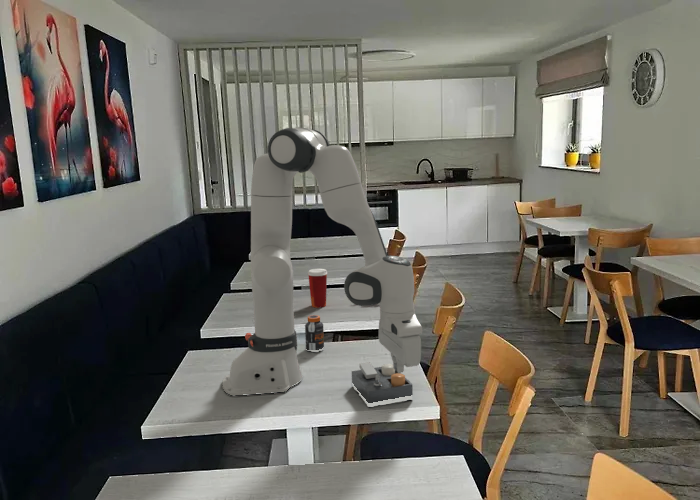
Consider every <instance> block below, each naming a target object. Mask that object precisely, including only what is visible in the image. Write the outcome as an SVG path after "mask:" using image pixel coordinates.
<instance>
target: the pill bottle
mask: <svg viewBox="0 0 700 500" xmlns="http://www.w3.org/2000/svg"><path fill="white" fill-rule="evenodd" d="M304 329H305V330H304V334H305V350H306V349H307V350H319V349H322V348H323V347H324V348H325V335H324V324H323V322H321V316H320V315H315V314H312V315H309V316H307V322H306V323H305V324H304ZM307 350H306V351H307Z"/></svg>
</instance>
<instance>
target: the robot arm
mask: <svg viewBox="0 0 700 500" xmlns="http://www.w3.org/2000/svg"><path fill="white" fill-rule="evenodd" d="M304 172H305V173H306V172H309V173H311V174H312V175H313V176H314V178H315V179H316V183H317V187H318V191H319V194H320V195H319V196H320V199H321V203H322V207H323V208H324V211H325V213H326V215H327V216H328V218H330V219H331V220H332V221H334V222H336V223H337V224H341V225H344V226H346V227H348V228H349V229H350V230H352V231H353V232H354V233H353V234H355V236H356V238H357V241H358V244H359V247H360V248H361V253H362V255H363V258H364V262H365V263H364V266H362V267H359V268H357V269H355V270H353V271H352V272H350V273H349V274H348V275H347V276H346V277H345V280H344V284H343V288H344V293H345V295H346V298H347V299H348V300H349V301H350V303H352V304H353V305H355V306H359V307H363V306H364V307H367V306H374V305H377V306H379V321H378V341H379V344H380V345H381V346H383V347H384V348H385V349H386V350H387V351H388V352H389V353H390V357H391V361H392V363H393V364H392V365H393V368H394V369H395V370H396V371H397V372H398V373H401V374H402V373H404V372H405V368H404V367H406V368H411V367H417V366H419V365H420V364H421V360H422V359H421V358H422V339H421V336H420V335H422V334H423V326H422V325H421V323H420V321H419V320H418V317H417V314H416V313H415V312H416V311H415V309H416V308H415V307H416V306H415V304H414V294H415V278H414V272H413V271H414V270H413V265H412V263H411V262H410V261H409V260H408V259H407V258H405V257H403V256H402V257H401V256H398V255H389V254H388V252H387V249H386V246H385V244H384V241H383V237H382V235H381V232H380V229H379V226H378V223H377V221H376V218H375V216H374V214H373V212H372V209H371V208H370V206H369V202H368V201H367V197H366V194H365V191H364V188H363V183H362V180H361V176H360V174H359V173H360V172H359V170H358V167H357V164H356V162H355V160H354V158H353V155H352V153H351V152H350V150H349V149H348V148H347V147H345V146H344V145H338V144H335V145H334V144H332V145H330V142H329V139H328V138H327V137H326V135H325V134H324V133H322V132H320V131H318V130H316V129H311V128H306V127H295V128H293V127H286V128H282V129H280V130H278V131H276V132H275V133H274V134H273V135H272V136H271V137H270V139H269V141H268V144H267V153H264V154H261V155H259V156H258V157H257V158H256V160H255V162H254V166H253V170H252V174H251V175H252V177H251V185H250V186H251V187H250V277H251V290H252V291H251V292H252V293H251V294H252V305H253V321H254V333H251V332H246V333H245V335H244V337H245V340H246V341H247V342H248V345H247V346H248V347H247V348H246V349H245V350H243V352H241V353H240V354H239V355H238V356H236V357H235V358H234V359H233V360H232V362H231V365H230V369H229V374H226V376H224V378H222V379H223V380H222V384H221V386H222V385H223V386H222V390H223V389H224V390H223V392H224V391H225V392H226V393H228V394H230V395H243V394H256V393H271V392H284V391H287V390H288V389H289V388H290V387H291V386H292V385H294V384H296V383H297V382H299V381H300V380H301V378H302V376H303V374H302V371H301V369H300V364H299V360H298V355H297V354H298V353H297V350H298V336H297V331H296V329H295V314H294V313H295V311H294V268H293V263H292V260H291V242H292V240H291V238H292V229H293V226H292V225H293V183H294V178H295V176H296V175H297V174H298V173H300V174H302V173H304ZM291 388H292V387H291ZM291 388H290V389H291ZM290 389H289V390H290ZM289 390H288V391H289ZM288 391H287V392H288ZM225 392H224V393H225ZM226 393H225V394H226ZM228 394H227V395H228ZM230 395H229V396H230Z"/></svg>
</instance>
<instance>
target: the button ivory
mask: <svg viewBox="0 0 700 500" xmlns="http://www.w3.org/2000/svg"><path fill="white" fill-rule="evenodd" d="M381 367H382V375H383V376H390V375H392V374H395V369H394V368H393V364H392V363H385V364H382V365H381Z"/></svg>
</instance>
